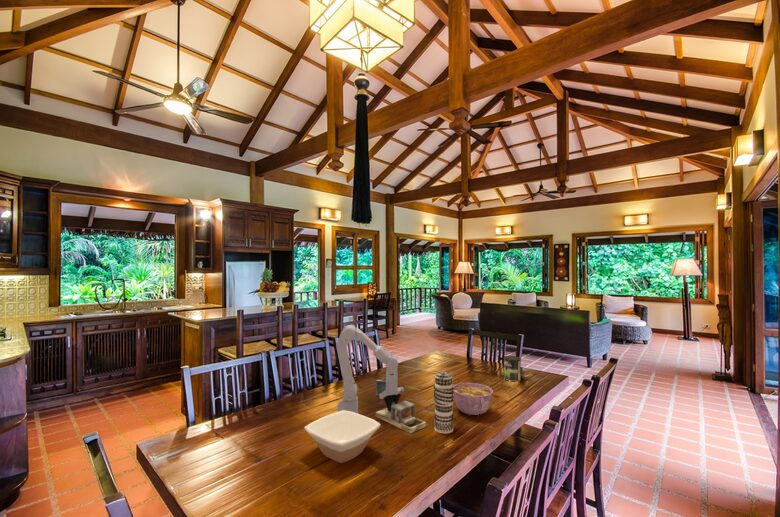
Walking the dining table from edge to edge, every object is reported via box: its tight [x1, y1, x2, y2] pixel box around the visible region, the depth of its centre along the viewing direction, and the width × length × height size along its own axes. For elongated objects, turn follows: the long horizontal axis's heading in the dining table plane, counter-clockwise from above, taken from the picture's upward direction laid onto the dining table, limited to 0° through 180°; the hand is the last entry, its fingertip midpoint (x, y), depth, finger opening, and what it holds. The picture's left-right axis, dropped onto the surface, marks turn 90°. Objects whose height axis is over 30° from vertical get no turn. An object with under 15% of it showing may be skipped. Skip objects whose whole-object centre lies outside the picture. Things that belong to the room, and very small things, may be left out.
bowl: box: [304, 410, 381, 464], centre depth 139 cm, size 24×25×11 cm
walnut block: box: [397, 408, 410, 419], centre depth 165 cm, size 4×4×4 cm
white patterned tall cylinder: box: [433, 371, 455, 435], centre depth 159 cm, size 9×9×25 cm
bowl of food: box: [452, 382, 494, 416], centre depth 177 cm, size 20×20×12 cm
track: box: [375, 400, 427, 434], centre depth 166 cm, size 10×24×8 cm, turn 42°
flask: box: [375, 376, 386, 398], centre depth 198 cm, size 9×3×11 cm, turn 65°
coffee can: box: [503, 355, 522, 382], centre depth 229 cm, size 10×10×14 cm
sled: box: [385, 401, 416, 423], centre depth 166 cm, size 6×14×5 cm, turn 42°
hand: (391, 409), depth 171 cm, fingers closed on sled, 2 cm apart
